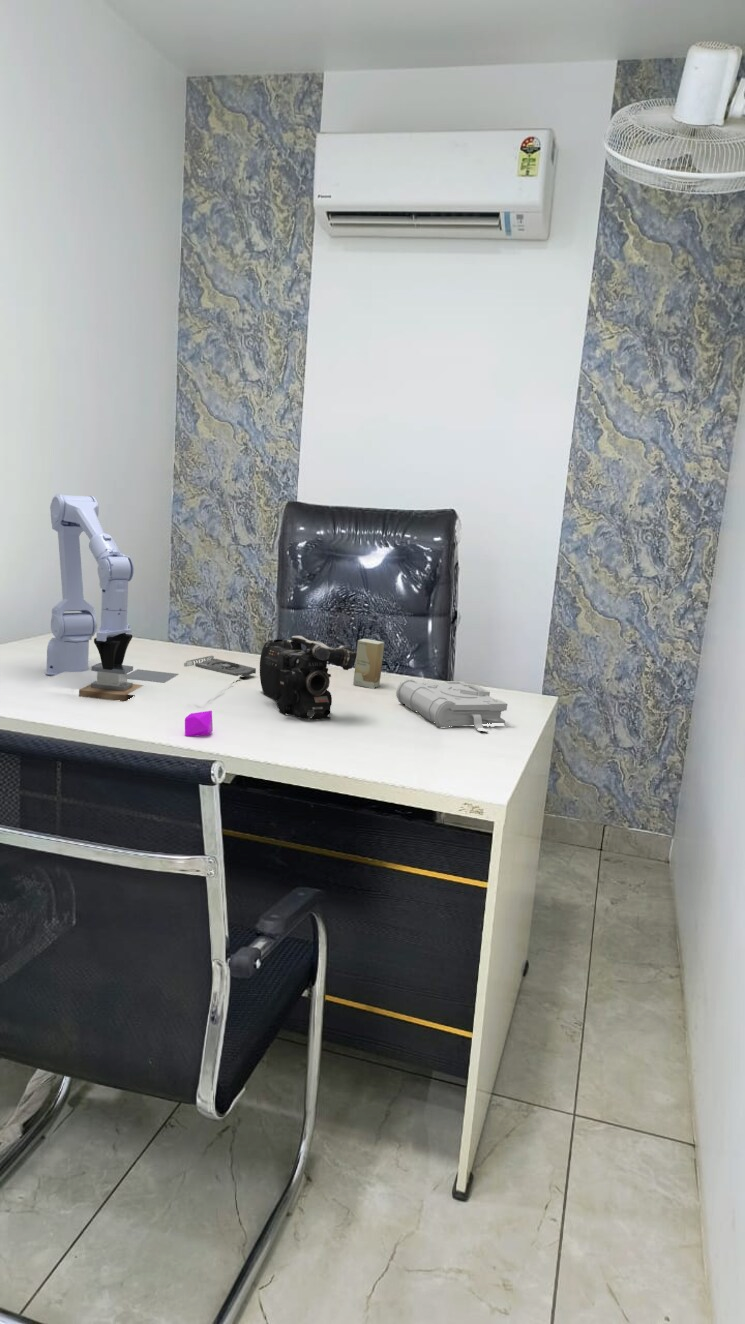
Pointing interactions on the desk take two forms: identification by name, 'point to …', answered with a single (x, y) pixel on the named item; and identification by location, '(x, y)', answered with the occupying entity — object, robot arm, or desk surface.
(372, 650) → the skincare box
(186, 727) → the crystal
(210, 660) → the graphics card
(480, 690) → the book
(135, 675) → the stand
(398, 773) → the desk surface
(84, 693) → the stand
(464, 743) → the desk surface
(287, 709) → the movie camera
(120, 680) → the block
